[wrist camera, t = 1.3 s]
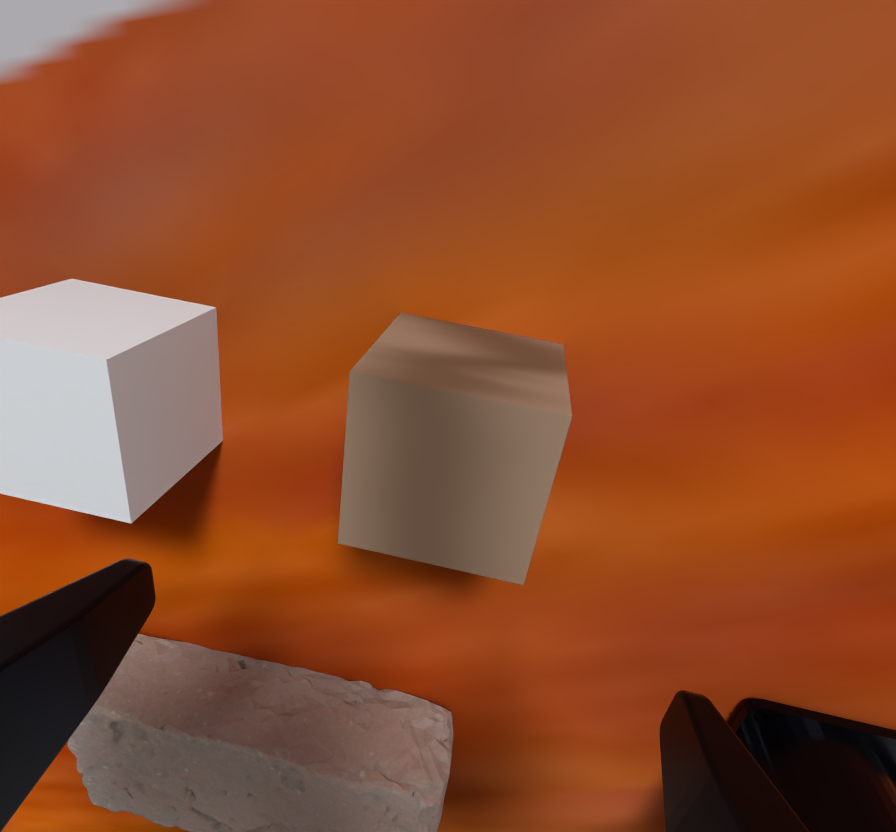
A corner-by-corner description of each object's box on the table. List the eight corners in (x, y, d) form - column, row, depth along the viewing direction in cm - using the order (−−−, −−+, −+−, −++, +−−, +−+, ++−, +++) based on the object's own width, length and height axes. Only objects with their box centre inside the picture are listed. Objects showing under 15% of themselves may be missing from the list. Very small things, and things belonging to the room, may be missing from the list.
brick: (141, 726, 29) (75, 822, 25) (119, 617, 25) (36, 709, 21) (439, 798, 28) (422, 911, 24) (463, 694, 24) (447, 808, 20)
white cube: (217, 306, 17) (106, 360, 13) (224, 439, 20) (131, 523, 15) (73, 278, 18) (-84, 320, 13) (96, 412, 20) (-31, 486, 15)
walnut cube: (563, 343, 16) (571, 416, 12) (527, 480, 18) (523, 585, 14) (400, 312, 16) (349, 371, 12) (385, 450, 19) (337, 543, 14)
